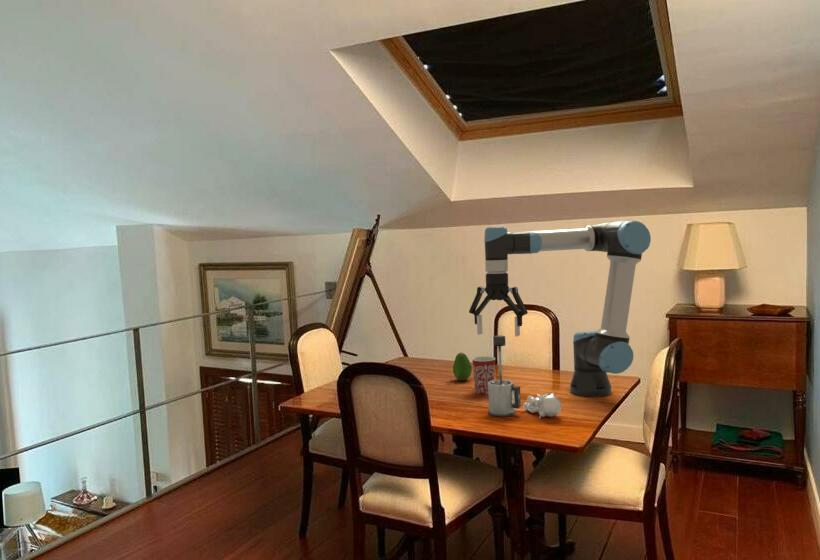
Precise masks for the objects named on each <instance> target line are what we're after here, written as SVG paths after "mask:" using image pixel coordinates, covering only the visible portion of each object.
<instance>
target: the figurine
mask: <svg viewBox="0 0 820 560" xmlns="http://www.w3.org/2000/svg"><path fill="white" fill-rule="evenodd" d="M526 401H527V402H523V405H522V407H523V409H524V410H526V411H529V413H531V414H534V413H537V412H538V414H539V416H538V419H541V417H542V418H545V417H555V416H557V415H558V414H560V412H561V411H562V402H561V400H560V398H559V397H558V396H556V395H555V392H553V391H552V393H543V394H542V395H540V394H538V393H537V394H536V397H533V396H532V395H528V396H526Z"/></svg>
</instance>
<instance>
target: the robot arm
mask: <svg viewBox="0 0 820 560" xmlns="http://www.w3.org/2000/svg"><path fill="white" fill-rule="evenodd" d="M651 236H652V235H651V232H650V229H648V228H647V226H646V225H645V223H643V222H641V221H639V220H632V219H630V220H629V219H627V220H626V219H625V220H617V221H616V220H615V221H607V222H602V223H598V224H591V225H585V226H584V227H583V228H569V229H548V230H533V231H532V230H530V231H529V230H527V231H514V232H512V231H511V232H510V231H508V228H507V227H506V226H488V227H486V228H485V230H484V240H483V242H484V258H485V261H484V263H485V266H484V267H485V272H486V274H485V284H486V285H485V287H484V286H481V285H480V286H478V287H477V289H476V294H475V297H474V299H473V302H472V303H471V306H470V308H469V310H468V312H469V314H472V315H473V316H474V324H475V325H476V334H477V335H482V334H483V315H482V314H481V313H482V311H484V309H485V308H486V306H488V304H489V303H490V301H491V300H492V301H496V300H497V301H504V302H505V304H507V305H508V307H509V308H510V310H511V311H512V312H513V313H514V314H515V316H514V337H517V338H518V337H519V336H521V328H520V327H521V326H522V327H523V316H526V315H527V314H528V313H529V312H528V310H527V307H526V306H525V304H524V302H523V299H522V298H521V296H520V294H519V289H518V286H513V287H509V274H508V273H507V272H508V271H509V264H508V263H509V262H508V261H509V259H508V257H509V256H508V255H532V254H537V253H540V252H553V251H566V250H567V251H570V250H585V251H587V252H601V253H606V258H608V260H609V261H610V262H609V263H610V264H609V269H608V270H609V271H608V276H607V283H606V290H605V297H604V304H603V310H602V318H601V323H600V328H599V329H597V330H591V331H589V330H588V331H579V332H575V333H574V334H573V340H572V344H573V345H572V346H573V370H574V371H573V374H572V378H571V382H570V384H569V392H570V393H571V394H573V395H576V396H582V397H603V396H608V395H610V394H611V393H612V385H611V381H610V379H609V376H608V373H609V374H615V375H616V374H617V375H618V374H621V373H624V372H625V371H626V370H628V369H629V368H630V367H631V365H632V363H633V361H634V356H635V355H634V350H633V349H632V346H630V340H631V339H630V338H631V337H630V335H629V334H628V333H627V327H628V321H629V320H628V319H629V313H630V306H631V300H632V299H631V298H632V292H633V286H634V279H635V272H636V266H637V265H638V263H640V262H641V261H642V256H643V253H644V252H646V250H648V249H649V247H650V245H651V240H652V239H651ZM509 292H510V294H511V295H512V297H513V299H514V301H515V303H514V302H513V300H512V299H511V297H510V296H509ZM484 293H486V296H485V297H484V299H483V300H482V302H481V303H480V301H481V299H482V296H483V294H484ZM479 303H480V304H479ZM478 305H479V306H478Z"/></svg>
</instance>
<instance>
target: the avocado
mask: <svg viewBox="0 0 820 560" xmlns="http://www.w3.org/2000/svg"><path fill="white" fill-rule="evenodd" d="M472 371H473V365H472V364H471V362H470V359H469V357H468V355H466V354H465V353H464V352H458V353H457V354H456V356H455V359H454V362H453V365H452V372H453V375H454V377H455V378H456V380H458V381H465V380H468V379H469V378H470V377H471V375H472Z"/></svg>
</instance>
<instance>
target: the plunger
mask: <svg viewBox="0 0 820 560" xmlns="http://www.w3.org/2000/svg"><path fill="white" fill-rule="evenodd" d="M492 338H493V341H492V342H493V347H497V351H498V378H499V379H498V380H499V383H495V384H493V385H509V384H507V383H502V380H503V374H502V373H503V369H502V368H503V367H502V365H503V364H502V347H504V346H506V336H505V335H494V336H493V337H492Z"/></svg>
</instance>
